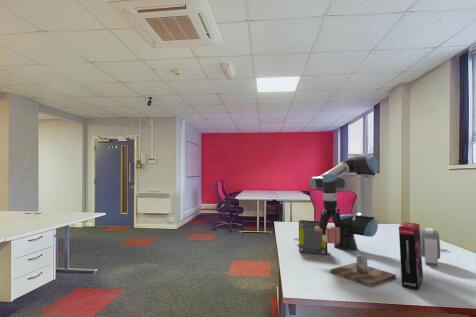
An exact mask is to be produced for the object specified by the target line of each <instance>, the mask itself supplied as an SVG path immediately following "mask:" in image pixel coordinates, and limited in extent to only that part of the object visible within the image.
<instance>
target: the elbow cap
mask: <svg viewBox="0 0 476 317" xmlns="http://www.w3.org/2000/svg"><path fill="white" fill-rule="evenodd" d="M324 227H325V226H324ZM314 229H315V231H318V232H322V229H321V228H319V227H318V226H315V228H314ZM326 229H327V237H328V241H324V240H323V235H322V241H323V242H325V243H327V244H332V245H333V244H335V243H336V244H337V243H340V230H339V227H336V226H335V225H327V228H326Z"/></svg>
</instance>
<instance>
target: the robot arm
mask: <svg viewBox="0 0 476 317" xmlns="http://www.w3.org/2000/svg"><path fill="white" fill-rule="evenodd" d="M377 160H378V159H376V158H375V157H374V156H358V157H357V156H355V157H349V158H346V159H344V160H341V161H340V162H338V164H337V165H336V166H335V167H333V168H331V169H329V170H328V171H326V172H324V173H322V174H321V175H319V176H312V177H311V178H310V180H309V183H310V186H311V188H312V189H320V190H322V192H323V193H322V199H323V201H322V205H323V208H324V209H323V210H322V209H321V210H320V218H319V221H320V225H319V228H321V229H322V235H323V240H324V241H328V237H327V229H326V228H327V226H329V225H328V224H329V221H330V219H331V218H332V219H331V220H332V222H333V226H336V227H339V230H340V243H337V244H336V243H335V244H334V245H333V248H335V249H338V250H343V251H356V250H358V245H357V242H356V239H355V235H356V236H357V235H358V236H362V237H363V236H364V237H369V238H370V237H371V238H372V237H374V236H375V235H376V233H377V231H378V228H379V223H378V221H377V219H375V216H374V215H373V213H372V212H373V179H374V178H375V177H376V174H378V172H379V168H380V167H379V162H378V161H377ZM348 174H356V177H357V178H358V195H357V196H358V198H357V199H358V200H357V213H356V214H355V215H354V214H340V209H339V208H337V207H338V201H337V200H338V195H337V194H338V193H337V192H338V190H344V189H346V188H347V187H348V183H349V182H348V180H347V179H346V178H345V177H343V176H345V175H348ZM324 226H325V227H324Z"/></svg>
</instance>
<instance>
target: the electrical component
mask: <svg viewBox="0 0 476 317" xmlns="http://www.w3.org/2000/svg"><path fill="white" fill-rule="evenodd" d="M319 225H320V220H305V219H301V220H298V252H299V253H306V254H307V253H308V254H317V255H324V256H325V255H326V256H327V255H328V243H325V242H323V241H322V232H318V231H315V229H314V228H315V226H318V227H319Z"/></svg>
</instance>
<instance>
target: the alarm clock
mask: <svg viewBox="0 0 476 317" xmlns="http://www.w3.org/2000/svg"><path fill="white" fill-rule="evenodd" d="M420 239H421V255H422V258H423V259H424V264H425V265H426V266H429V267H435V268H436V267H438V264H439V259H440V258H441V242H440V241H441V240H440V234H439V231H437V230H434V229H433V228H432V227H425V228H424V229H420Z"/></svg>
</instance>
